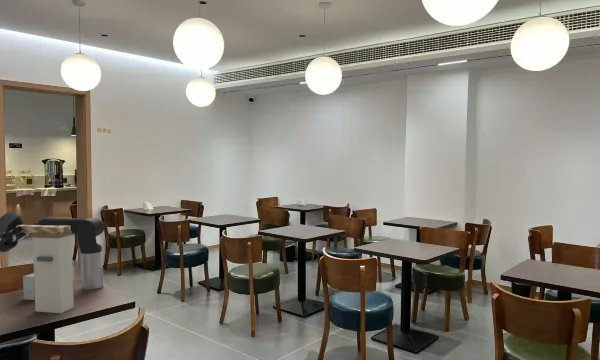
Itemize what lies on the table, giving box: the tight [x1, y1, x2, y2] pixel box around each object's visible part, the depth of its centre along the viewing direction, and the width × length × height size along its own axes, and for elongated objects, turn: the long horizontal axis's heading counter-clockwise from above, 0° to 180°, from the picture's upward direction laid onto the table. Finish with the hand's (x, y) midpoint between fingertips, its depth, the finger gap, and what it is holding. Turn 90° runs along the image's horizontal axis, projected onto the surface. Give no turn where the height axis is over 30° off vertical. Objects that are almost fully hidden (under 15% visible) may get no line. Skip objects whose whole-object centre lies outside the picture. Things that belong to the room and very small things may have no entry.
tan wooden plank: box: [16, 224, 71, 234], centre depth 176 cm, size 22×5×2 cm, turn 79°
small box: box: [22, 272, 35, 301], centre depth 192 cm, size 8×6×10 cm
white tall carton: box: [30, 231, 75, 314], centre depth 176 cm, size 13×9×32 cm
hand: (30, 226), depth 177 cm, fingers open, 8 cm apart
